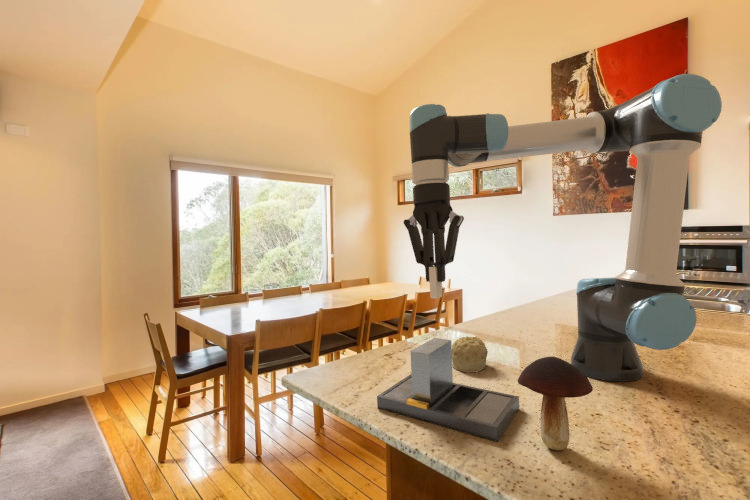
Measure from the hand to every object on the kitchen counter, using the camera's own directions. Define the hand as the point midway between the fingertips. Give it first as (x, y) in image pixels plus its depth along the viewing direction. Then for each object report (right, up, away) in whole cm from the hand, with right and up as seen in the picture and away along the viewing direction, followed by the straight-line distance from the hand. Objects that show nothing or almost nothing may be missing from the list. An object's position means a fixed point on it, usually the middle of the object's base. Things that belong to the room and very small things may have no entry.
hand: (436, 297), depth 78 cm
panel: (-1, -22, 0) cm, 22 cm away
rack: (+2, -22, -2) cm, 23 cm away
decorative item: (+12, -21, +21) cm, 32 cm away
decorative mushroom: (+17, -23, -17) cm, 33 cm away
